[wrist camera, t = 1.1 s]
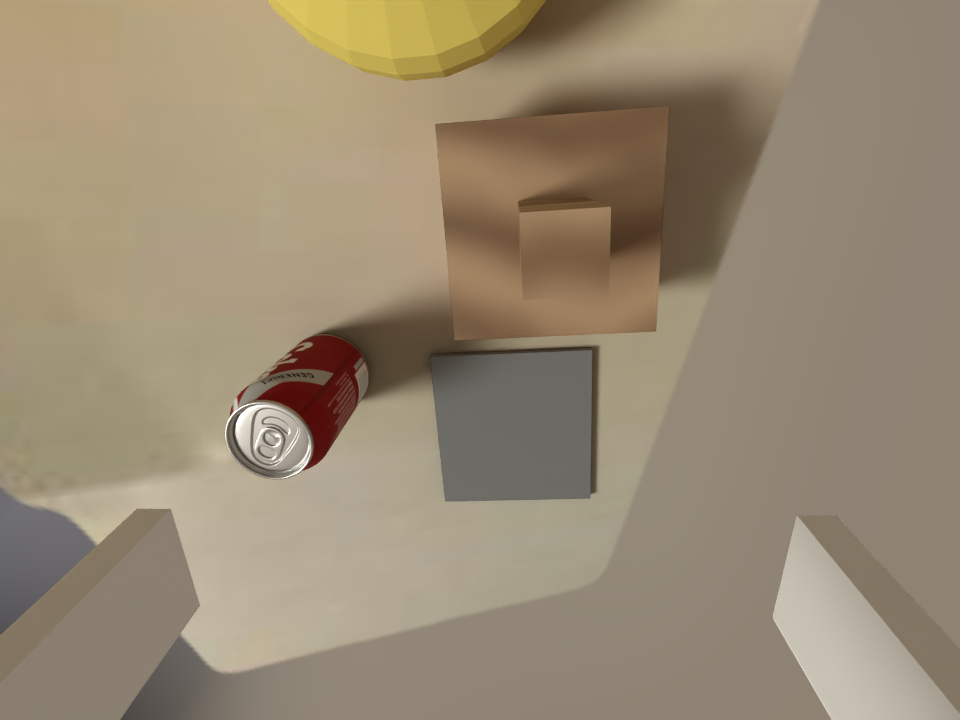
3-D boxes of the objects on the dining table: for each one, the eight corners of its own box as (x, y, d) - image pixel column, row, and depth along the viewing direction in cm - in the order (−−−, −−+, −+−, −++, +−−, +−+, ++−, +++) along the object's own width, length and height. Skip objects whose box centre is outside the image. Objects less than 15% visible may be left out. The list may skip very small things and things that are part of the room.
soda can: (383, 352, 42) (336, 419, 31) (356, 417, 44) (303, 503, 33) (306, 318, 41) (229, 374, 30) (282, 386, 43) (203, 463, 32)
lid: (438, 125, 30) (409, 108, 21) (663, 108, 29) (727, 83, 20) (456, 334, 34) (438, 390, 26) (651, 325, 33) (699, 380, 25)
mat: (430, 354, 42) (429, 357, 41) (591, 347, 41) (592, 350, 40) (446, 497, 46) (445, 501, 46) (589, 494, 45) (590, 498, 45)
